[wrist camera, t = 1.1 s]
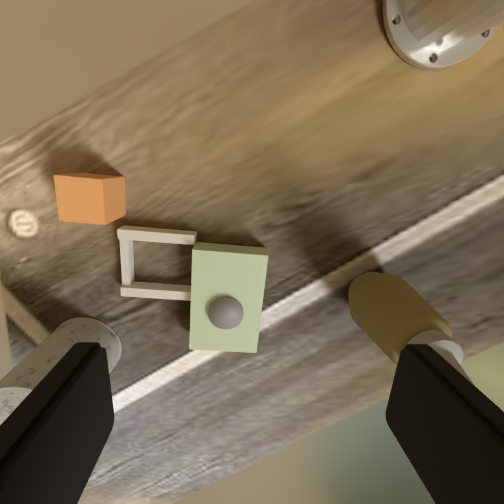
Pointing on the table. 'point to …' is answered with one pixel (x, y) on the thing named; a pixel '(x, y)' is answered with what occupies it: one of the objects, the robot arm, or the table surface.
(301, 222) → the table surface
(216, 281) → the green plate with dome
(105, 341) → the speckled stone cylinder
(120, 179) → the matte orange cube
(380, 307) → the squeeze bottle
